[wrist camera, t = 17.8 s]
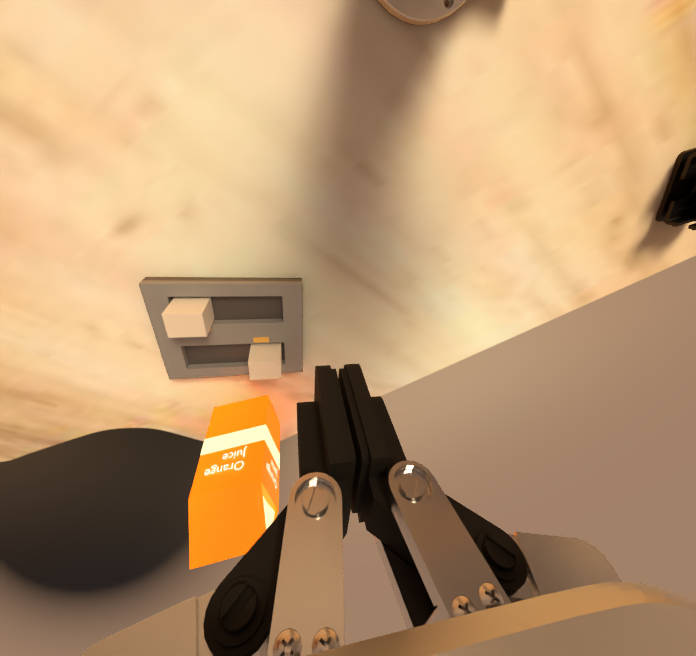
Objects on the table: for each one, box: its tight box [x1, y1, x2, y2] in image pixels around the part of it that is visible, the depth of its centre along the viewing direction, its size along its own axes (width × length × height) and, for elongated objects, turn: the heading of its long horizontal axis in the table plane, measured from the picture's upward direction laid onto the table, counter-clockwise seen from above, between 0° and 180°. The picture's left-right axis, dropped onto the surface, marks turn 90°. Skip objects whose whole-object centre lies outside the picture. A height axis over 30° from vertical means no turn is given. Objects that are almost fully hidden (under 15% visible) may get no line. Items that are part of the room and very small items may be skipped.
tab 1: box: [161, 297, 214, 338], centre depth 33 cm, size 4×3×4 cm
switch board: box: [139, 277, 303, 379], centre depth 38 cm, size 18×14×2 cm
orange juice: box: [188, 395, 280, 569], centre depth 40 cm, size 8×9×20 cm
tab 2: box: [248, 343, 282, 380], centre depth 38 cm, size 4×3×4 cm
